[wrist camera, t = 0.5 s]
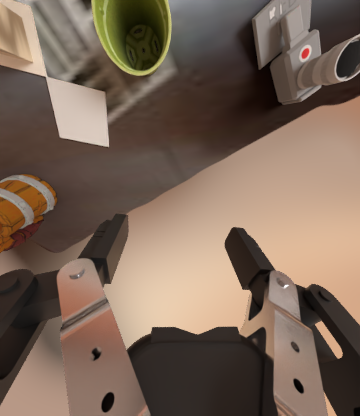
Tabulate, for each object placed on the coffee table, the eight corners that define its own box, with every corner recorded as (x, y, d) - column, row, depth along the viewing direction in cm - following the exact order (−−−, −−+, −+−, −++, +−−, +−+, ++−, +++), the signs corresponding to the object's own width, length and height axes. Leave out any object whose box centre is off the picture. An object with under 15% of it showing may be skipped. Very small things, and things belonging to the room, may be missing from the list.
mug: (54, 177, 35) (-12, 209, 22) (64, 225, 43) (20, 268, 30) (3, 166, 33) (-102, 194, 20) (24, 219, 41) (-41, 262, 28)
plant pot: (177, 76, 26) (180, 59, 19) (132, 95, 27) (118, 85, 20) (159, -3, 21) (153, -69, 14) (104, 24, 22) (72, -25, 15)
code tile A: (-34, -14, 19) (-37, -16, 19) (31, 7, 21) (29, 5, 20) (-5, 63, 23) (-7, 63, 23) (47, 77, 25) (46, 76, 24)
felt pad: (47, 77, 25) (45, 76, 24) (105, 92, 26) (104, 91, 26) (61, 137, 30) (60, 137, 30) (109, 146, 32) (108, 147, 31)
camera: (319, 109, 20) (300, -45, 13) (270, 113, 30) (245, 28, 23) (392, 60, 18) (415, -159, 11) (312, 83, 28) (298, -23, 21)
